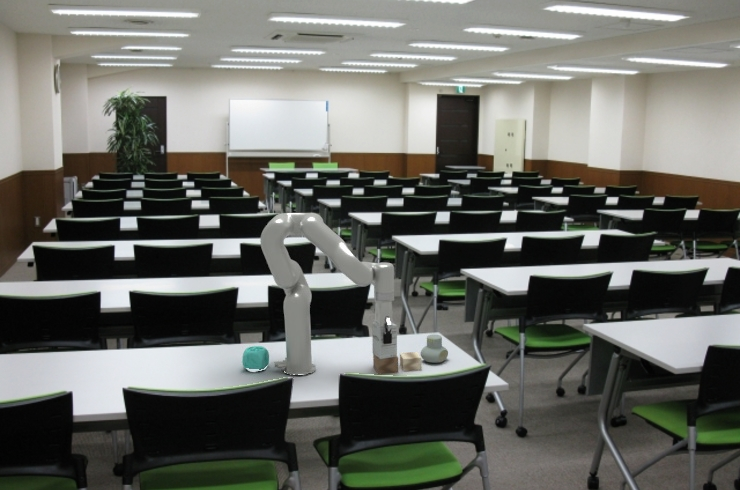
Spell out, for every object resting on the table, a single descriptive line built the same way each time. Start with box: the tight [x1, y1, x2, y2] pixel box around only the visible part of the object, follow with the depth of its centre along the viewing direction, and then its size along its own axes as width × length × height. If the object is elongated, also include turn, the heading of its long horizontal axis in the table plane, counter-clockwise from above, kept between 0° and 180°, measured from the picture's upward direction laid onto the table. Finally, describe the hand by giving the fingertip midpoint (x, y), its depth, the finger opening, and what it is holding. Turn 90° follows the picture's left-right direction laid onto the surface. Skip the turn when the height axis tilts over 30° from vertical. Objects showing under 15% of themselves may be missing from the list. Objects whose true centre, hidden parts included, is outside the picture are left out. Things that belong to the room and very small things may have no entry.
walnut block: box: [372, 353, 399, 375], centre depth 277 cm, size 8×8×6 cm
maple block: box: [399, 351, 422, 372], centre depth 279 cm, size 7×7×5 cm
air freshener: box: [420, 333, 449, 364], centre depth 286 cm, size 11×8×10 cm
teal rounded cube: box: [241, 345, 270, 370], centre depth 280 cm, size 8×8×8 cm
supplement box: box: [371, 321, 398, 359], centre depth 275 cm, size 7×7×13 cm
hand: (384, 339), depth 275 cm, fingers open, 9 cm apart
